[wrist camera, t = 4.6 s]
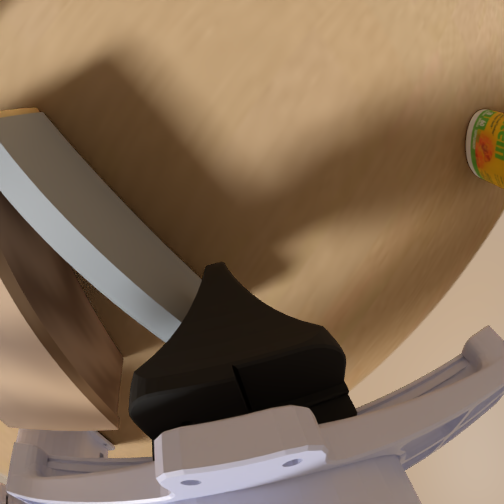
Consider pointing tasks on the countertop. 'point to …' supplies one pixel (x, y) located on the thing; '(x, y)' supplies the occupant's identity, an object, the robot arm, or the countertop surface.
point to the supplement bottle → (486, 146)
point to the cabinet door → (91, 224)
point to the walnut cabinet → (50, 339)
